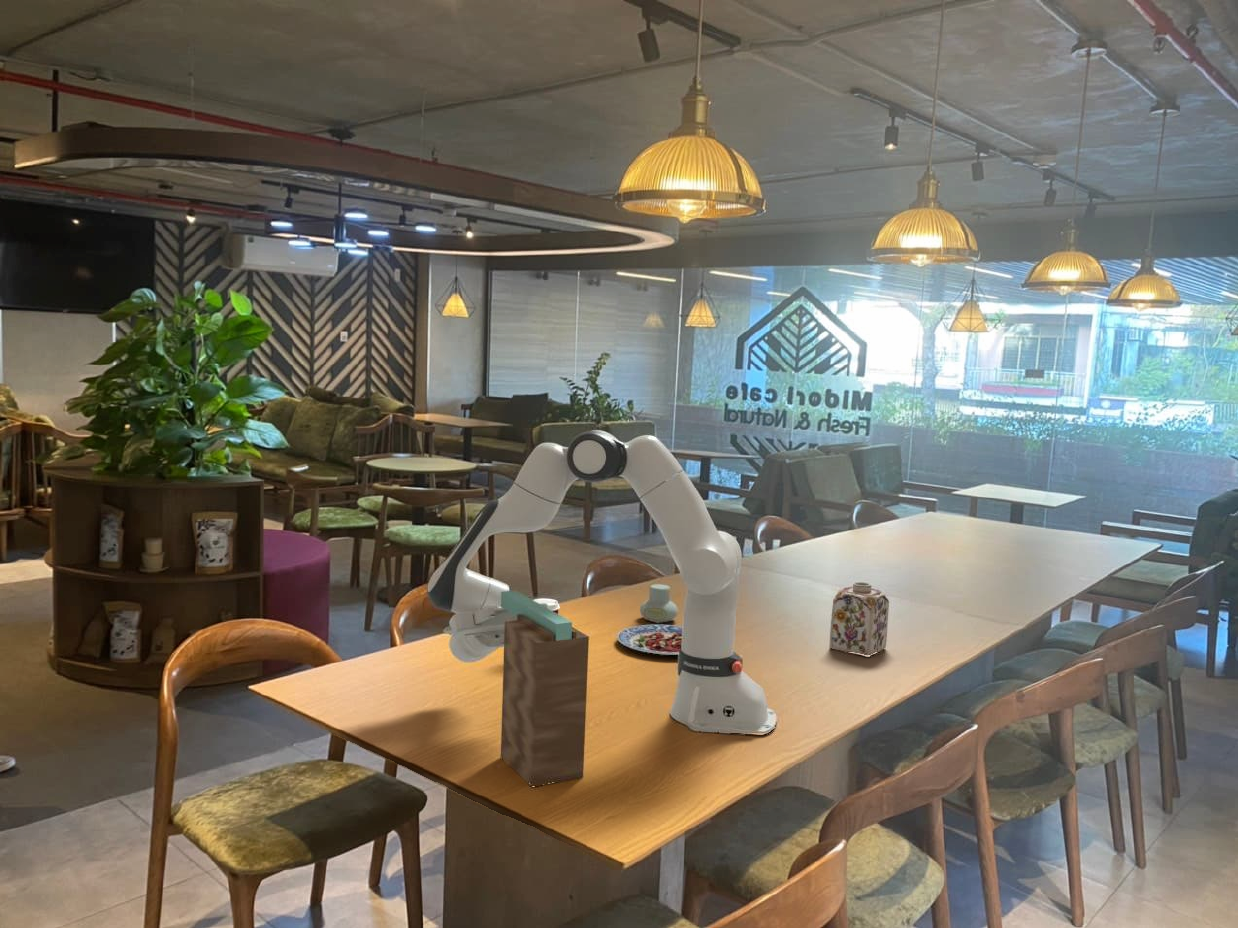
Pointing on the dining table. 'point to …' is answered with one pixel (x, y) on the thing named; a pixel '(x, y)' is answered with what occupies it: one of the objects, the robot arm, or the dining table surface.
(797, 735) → the dining table surface
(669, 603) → the air freshener
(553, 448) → the robot arm
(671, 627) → the ceramic plate
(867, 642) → the decorative jar
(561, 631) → the teal rod
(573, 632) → the walnut stand
